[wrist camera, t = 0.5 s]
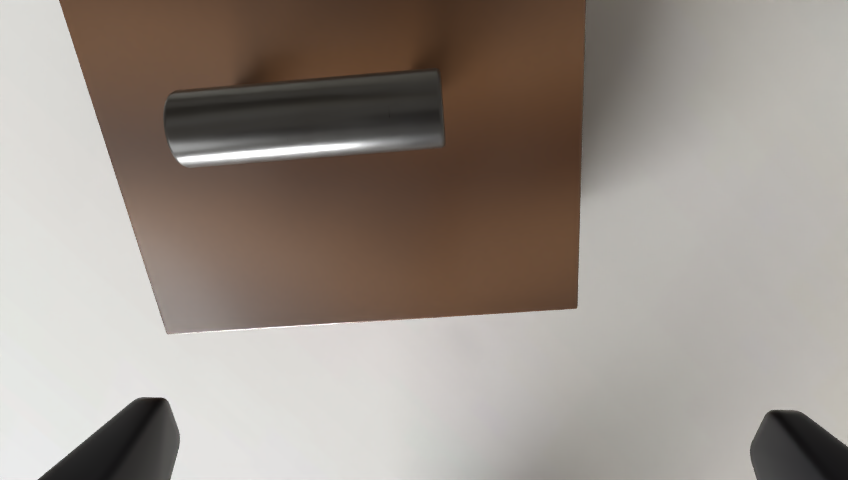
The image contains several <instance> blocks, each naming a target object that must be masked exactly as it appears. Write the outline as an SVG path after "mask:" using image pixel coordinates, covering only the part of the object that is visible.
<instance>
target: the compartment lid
mask: <svg viewBox="0 0 848 480" xmlns="http://www.w3.org/2000/svg"><path fill="white" fill-rule="evenodd" d="M59 1H60V4H61V7H62V10H63V14H64V17H65V20H66V23H67V26H68V29H69V32H70V35H71V38H72V41H73V45H74V48H75V51H76V54H77V57H78V60H79V63H80V66H81V69H82V72H83V76H84V79H85V82H86V85H87V88H88V91H89V94H90V97H91V100H92V103H93V106H94V110H95V113H96V116H97V119H98V122H99V125H100V128H101V131H102V134H103V137H104V141H105V144H106V147H107V150H108V153H109V156H110V159H111V162H112V165H113V168H114V172H115V175H116V178H117V181H118V184H119V187H120V190H121V193H122V196H123V199H124V202H125V206H126V209H127V212H128V215H129V218H130V221H131V224H132V227H133V230H134V233H135V237H136V240H137V243H138V246H139V249H140V252H141V255H142V258H143V261H144V264H145V268H146V271H147V274H148V277H149V280H150V283H151V286H152V289H153V292H154V295H155V298H156V302H157V305H158V308H159V311H160V314H161V317H162V320H163V323H164V326H165V329H166V333H167V334H183V333H199V332H215V331H230V330H246V329H262V328H278V327H294V326H309V325H325V324H341V323H357V322H373V321H388V320H404V319H420V318H436V317H452V316H467V315H483V314H499V313H515V312H530V311H546V310H562V309H576V308H577V304H578V268H579V233H580V197H581V161H582V126H583V90H584V55H585V19H586V0H59Z"/></svg>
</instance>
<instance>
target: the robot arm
mask: <svg viewBox="0 0 848 480" xmlns="http://www.w3.org/2000/svg"><path fill="white" fill-rule="evenodd" d="M179 444H180V434H179V430H178V427H177V424H176V421H175V419H174V416H173V413H172V410H171V407H170V404H169V402H168V401H167V400H166V399H165V398H152V397H142V398H138V399H136V400H134V401H133V402H131V403H130V404H129V405H128V406H126V407H125V408H124V409H123V410H122V411H120V412H119V413H118V414H117V415H116V416H114V417H113V418H112V419H111V420H109V421H108V422H107V423H106V424H105V425H103V426H102V427H101V428H100V429H99V430H97V431H96V432H95V433H94V434H92V435H91V436H90V437H89V438H88V439H86V440H85V441H84V442H83V443H82V444H80V445H79V446H78V447H77V448H76V449H74V450H73V451H72V452H71V453H69V454H68V455H67V456H66V457H65V458H63V459H62V460H61V461H60V462H59V463H57V464H56V465H55V466H54V467H52V468H51V469H50V470H49V471H48V472H46V473H45V474H44V475H43V476H42V477H40V478H39V479H38V480H170V479H171V475H172V471H173V468H174V464H175V460H176V457H177V453H178V449H179ZM750 456H751V461H752V465H753V468H754V471H755V474H756V478H757V480H848V447H847V446H846V445H845V444H843V443H842V442H841V441H839V440H838V439H837V438H835V437H834V436H833V435H831V434H830V433H829V432H827V431H826V430H825V429H823V428H822V427H821V426H820V425H818V424H817V423H816V422H814V421H813V420H812V419H810V418H809V417H808V416H806V415H805V414H803V413H801V412H799V411H795V410H771V411H769V412H768V413H767V414H766V415H765V417H764V419H763V421H762V423H761V425H760V427H759V429H758V431H757V433H756V435H755V437H754V439H753V441H752V443H751V448H750Z"/></svg>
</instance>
